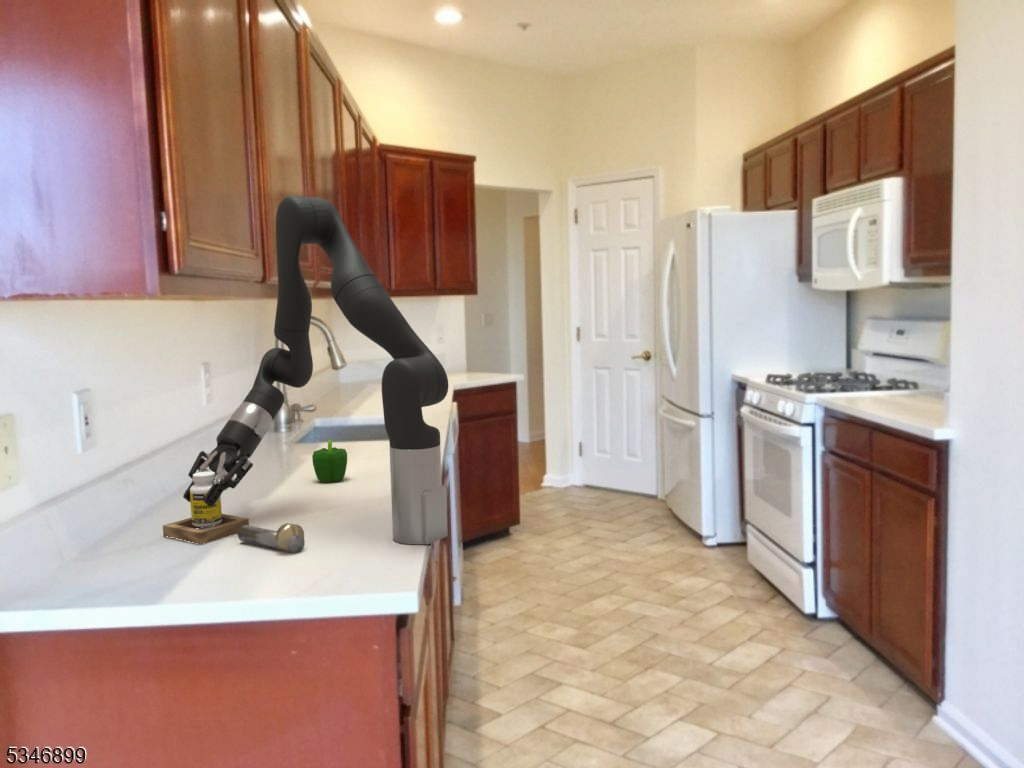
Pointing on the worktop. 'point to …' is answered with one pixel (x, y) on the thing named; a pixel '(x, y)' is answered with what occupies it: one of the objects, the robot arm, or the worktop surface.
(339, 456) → the bell pepper
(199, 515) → the supplement bottle
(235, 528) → the collar block
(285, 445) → the worktop surface
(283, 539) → the shaft
